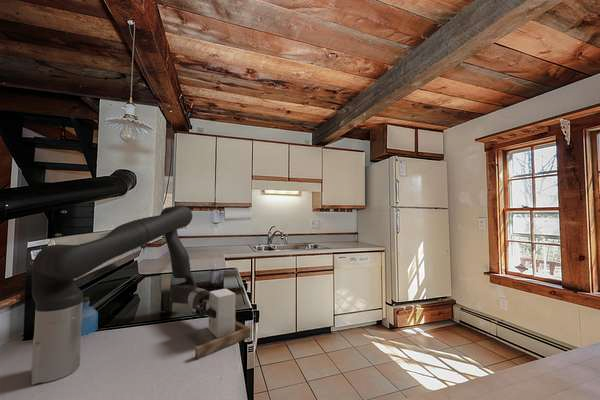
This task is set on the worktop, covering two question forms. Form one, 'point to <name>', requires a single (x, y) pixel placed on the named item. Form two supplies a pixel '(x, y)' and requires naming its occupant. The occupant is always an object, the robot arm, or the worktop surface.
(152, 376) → the worktop surface
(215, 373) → the worktop surface
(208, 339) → the wooden tray
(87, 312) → the perfume bottle
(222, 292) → the small box
